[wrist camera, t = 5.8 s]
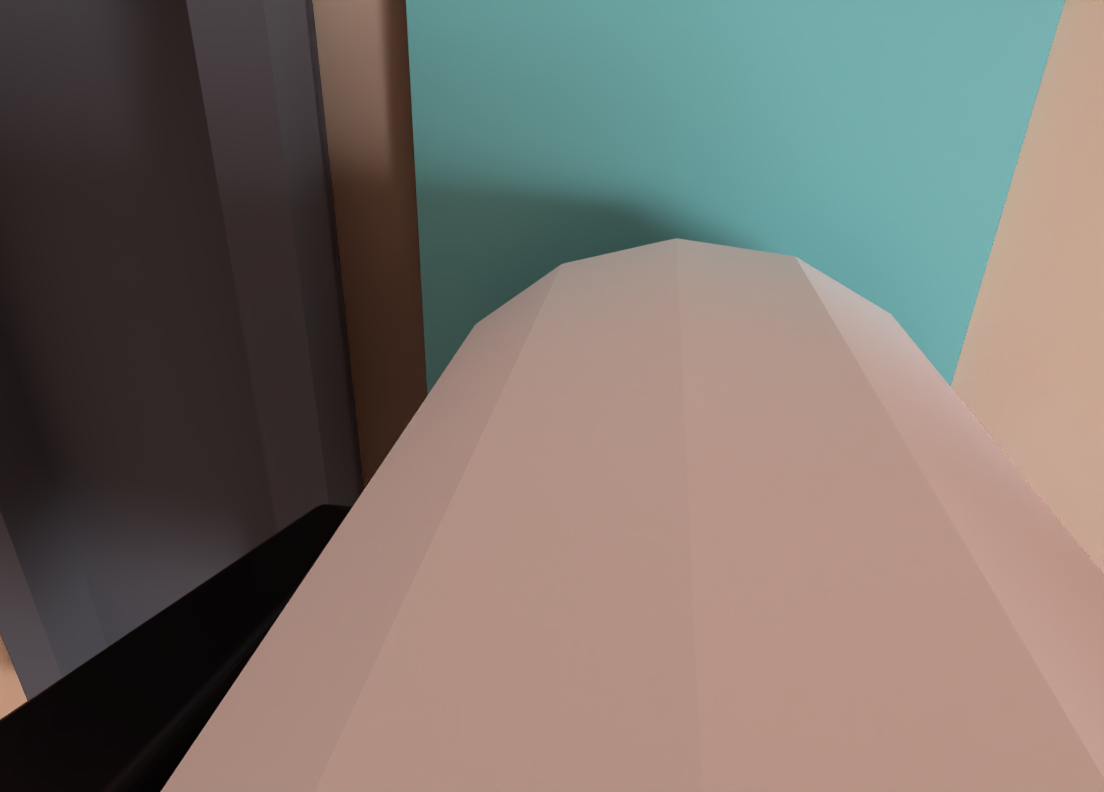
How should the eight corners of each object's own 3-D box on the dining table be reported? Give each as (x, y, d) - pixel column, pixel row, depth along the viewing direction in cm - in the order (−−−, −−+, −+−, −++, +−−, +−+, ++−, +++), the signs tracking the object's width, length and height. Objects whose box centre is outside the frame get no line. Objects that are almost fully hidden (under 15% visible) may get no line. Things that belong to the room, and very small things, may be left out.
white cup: (253, 485, 10) (-344, 1365, 4) (674, -3, 7) (739, 631, 1) (680, 777, 12) (697, 1689, 6) (1165, 486, 9) (2221, 1760, 3)
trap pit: (386, 714, 14) (365, 780, 13) (89, 681, 14) (45, 743, 13) (293, -184, 8) (237, -195, 7) (-220, -197, 8) (-343, -207, 7)
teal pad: (832, 762, 13) (835, 774, 13) (448, 720, 14) (446, 731, 14) (1103, -164, 7) (1114, -166, 7) (401, -182, 8) (396, -183, 8)
